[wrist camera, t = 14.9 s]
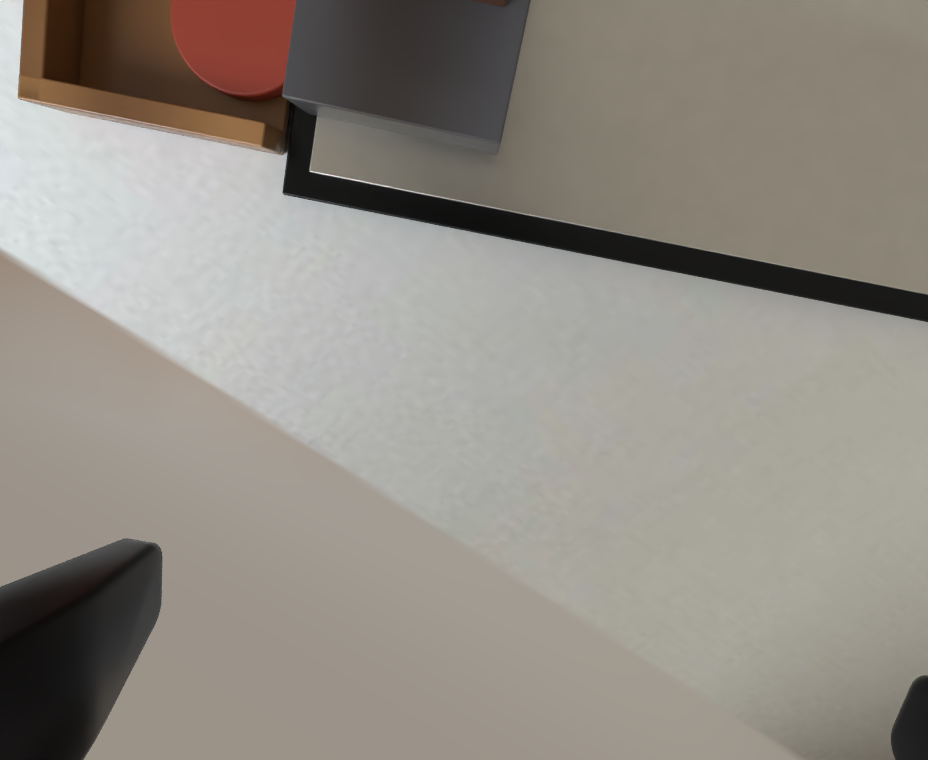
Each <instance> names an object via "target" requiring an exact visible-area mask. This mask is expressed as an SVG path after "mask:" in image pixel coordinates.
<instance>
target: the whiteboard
mask: <svg viewBox="0 0 928 760" xmlns="http://www.w3.org/2000/svg"><path fill="white" fill-rule="evenodd" d="M283 194H284V195H288V196H293V197H298V198H303V199H308V200H313V201H318V202H324V203H329V204H334V205H339V206H344V207H349V208H354V209H359V210H364V211H369V212H374V213H379V214H384V215H389V216H394V217H399V218H404V219H410V220H415V221H420V222H425V223H430V224H435V225H440V226H445V227H450V228H455V229H460V230H465V231H470V232H475V233H480V234H485V235H490V236H495V237H501V238H506V239H511V240H516V241H521V242H526V243H531V244H536V245H541V246H546V247H551V248H556V249H561V250H566V251H571V252H576V253H581V254H586V255H592V256H597V257H602V258H607V259H612V260H617V261H622V262H627V263H632V264H637V265H642V266H647V267H652V268H657V269H662V270H667V271H672V272H677V273H683V274H688V275H693V276H698V277H703V278H708V279H713V280H718V281H723V282H728V283H733V284H738V285H743V286H748V287H753V288H758V289H763V290H768V291H774V292H779V293H784V294H789V295H794V296H799V297H804V298H809V299H814V300H819V301H824V302H829V303H834V304H839V305H844V306H849V307H854V308H859V309H865V310H870V311H875V312H880V313H885V314H890V315H895V316H900V317H905V318H910V319H915V320H920V321H925V322H928V0H531V2H530V7H529V12H528V16H527V21H526V26H525V31H524V35H523V40H522V45H521V50H520V54H519V59H518V64H517V69H516V74H515V78H514V83H513V88H512V93H511V97H510V102H509V107H508V112H507V116H506V121H505V126H504V131H503V135H502V140H501V144H500V147H499V151H498V153H497V154H491V153H486V152H481V151H477V150H472V149H468V148H463V147H458V146H454V145H449V144H445V143H440V142H435V141H431V140H426V139H422V138H417V137H412V136H408V135H403V134H399V133H394V132H389V131H385V130H380V129H376V128H371V127H366V126H362V125H357V124H352V123H348V122H343V121H339V120H334V119H329V118H325V117H320V116H316V115H311V114H308V113H306V112H305V111H303V110H302V109H300V108H299V107H297V106H296V105H294V111H293V118H292V125H291V133H290V140H289V148H288V155H287V163H286V170H285V178H284V185H283Z"/></svg>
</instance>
